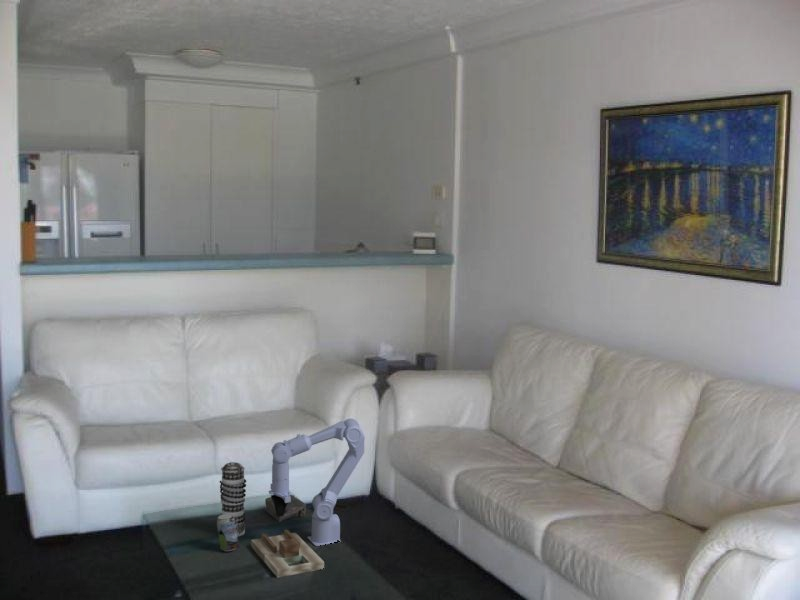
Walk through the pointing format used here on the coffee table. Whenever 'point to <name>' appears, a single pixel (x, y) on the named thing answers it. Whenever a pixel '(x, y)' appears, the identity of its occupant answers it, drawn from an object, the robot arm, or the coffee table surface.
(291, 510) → the geological specimen
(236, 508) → the decorative candle
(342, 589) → the coffee table surface
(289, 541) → the block
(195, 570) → the coffee table surface
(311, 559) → the deck
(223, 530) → the beverage can
